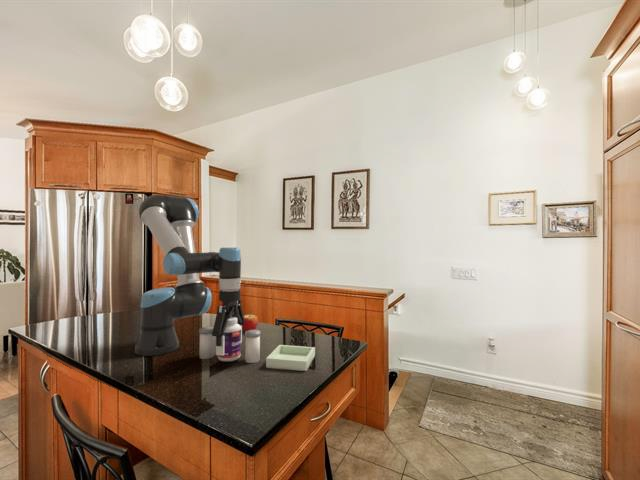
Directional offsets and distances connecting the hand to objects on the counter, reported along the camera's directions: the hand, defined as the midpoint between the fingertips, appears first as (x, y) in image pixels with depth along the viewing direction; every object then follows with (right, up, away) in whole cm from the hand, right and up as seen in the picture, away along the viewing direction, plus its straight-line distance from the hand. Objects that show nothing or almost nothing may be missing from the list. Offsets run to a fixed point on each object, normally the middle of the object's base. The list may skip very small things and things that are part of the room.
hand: (229, 348), depth 111 cm
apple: (-1, -4, +34) cm, 34 cm away
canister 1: (-9, -4, +2) cm, 10 cm away
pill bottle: (0, -4, 0) cm, 4 cm away
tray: (+23, -4, -2) cm, 23 cm away
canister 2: (+9, -4, -2) cm, 10 cm away
